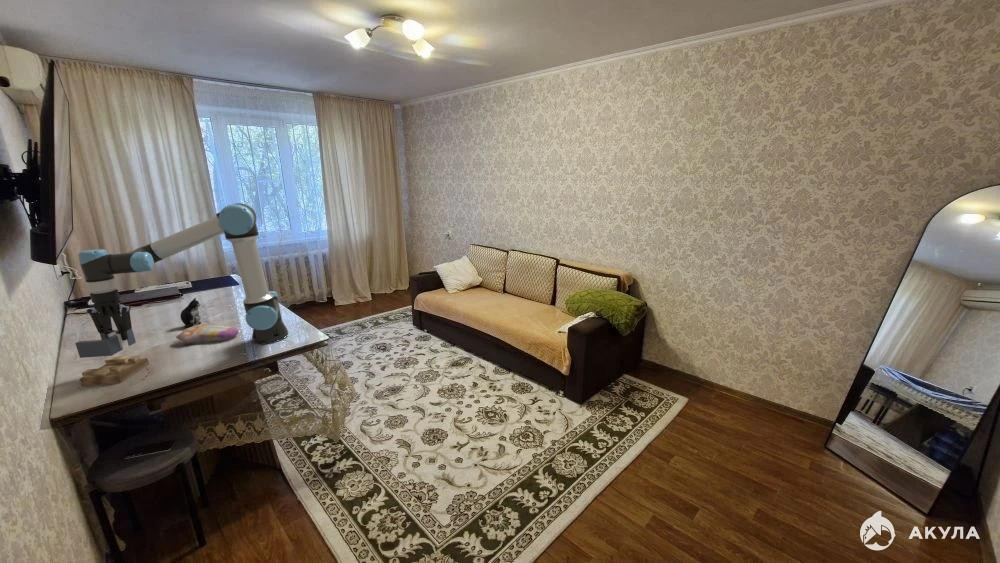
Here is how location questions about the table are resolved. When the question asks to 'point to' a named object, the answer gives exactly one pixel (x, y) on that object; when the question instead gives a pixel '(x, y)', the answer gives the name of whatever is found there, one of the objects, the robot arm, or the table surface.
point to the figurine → (191, 314)
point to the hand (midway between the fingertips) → (120, 348)
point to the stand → (114, 370)
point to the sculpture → (207, 333)
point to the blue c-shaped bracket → (103, 345)
